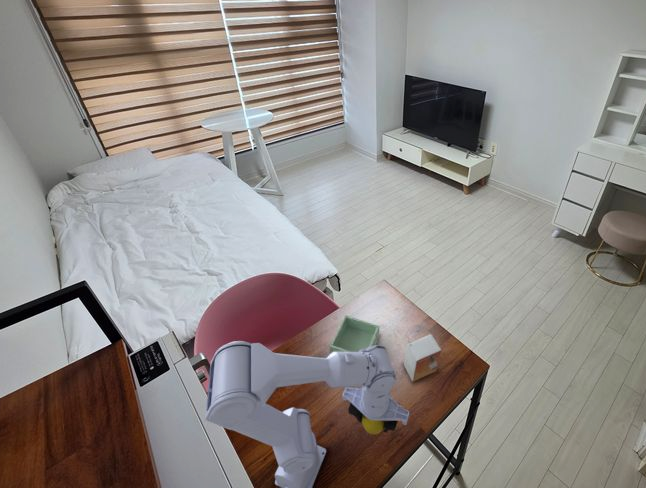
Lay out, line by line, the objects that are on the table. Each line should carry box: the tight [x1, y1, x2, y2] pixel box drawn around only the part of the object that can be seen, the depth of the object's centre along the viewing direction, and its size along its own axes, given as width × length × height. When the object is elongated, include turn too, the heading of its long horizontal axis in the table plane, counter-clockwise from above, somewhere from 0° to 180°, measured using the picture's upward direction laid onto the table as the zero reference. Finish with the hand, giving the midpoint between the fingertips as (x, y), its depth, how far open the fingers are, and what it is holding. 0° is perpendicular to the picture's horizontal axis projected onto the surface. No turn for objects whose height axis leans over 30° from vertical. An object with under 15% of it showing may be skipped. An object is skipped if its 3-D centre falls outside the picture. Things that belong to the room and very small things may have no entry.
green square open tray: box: [329, 314, 380, 355], centre depth 98 cm, size 11×11×5 cm
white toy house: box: [403, 333, 442, 383], centre depth 91 cm, size 8×6×10 cm
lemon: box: [361, 414, 385, 435], centre depth 74 cm, size 6×6×8 cm
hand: (374, 422), depth 75 cm, fingers closed on lemon, 5 cm apart
